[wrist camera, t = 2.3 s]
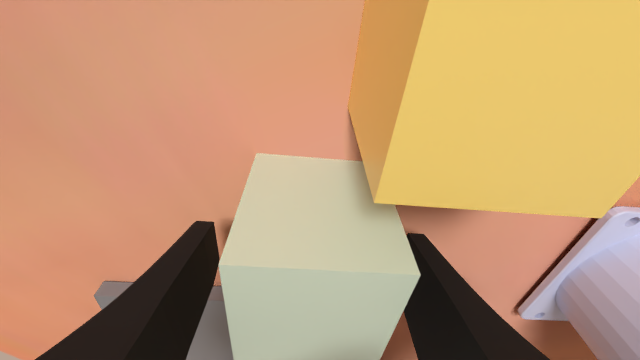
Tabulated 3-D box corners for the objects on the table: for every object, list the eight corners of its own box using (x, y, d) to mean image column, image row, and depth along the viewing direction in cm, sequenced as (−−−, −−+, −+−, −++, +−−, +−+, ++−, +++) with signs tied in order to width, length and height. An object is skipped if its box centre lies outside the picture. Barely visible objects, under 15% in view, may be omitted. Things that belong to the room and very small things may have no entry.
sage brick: (378, 161, 11) (420, 275, 6) (352, 265, 14) (368, 383, 10) (257, 151, 10) (218, 264, 6) (260, 260, 14) (237, 380, 9)
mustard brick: (592, -140, 6) (1146, -387, 2) (478, 117, 10) (601, 218, 5) (392, -174, 6) (576, -542, 2) (347, 105, 9) (374, 202, 5)
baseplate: (304, 289, 15) (303, 304, 14) (294, 371, 20) (294, 384, 20) (103, 281, 14) (93, 295, 13) (152, 368, 20) (146, 381, 19)
